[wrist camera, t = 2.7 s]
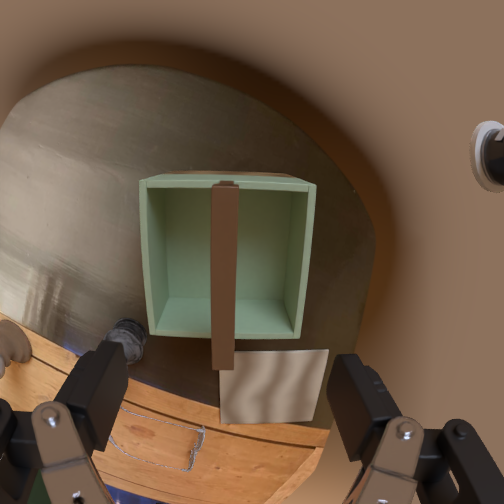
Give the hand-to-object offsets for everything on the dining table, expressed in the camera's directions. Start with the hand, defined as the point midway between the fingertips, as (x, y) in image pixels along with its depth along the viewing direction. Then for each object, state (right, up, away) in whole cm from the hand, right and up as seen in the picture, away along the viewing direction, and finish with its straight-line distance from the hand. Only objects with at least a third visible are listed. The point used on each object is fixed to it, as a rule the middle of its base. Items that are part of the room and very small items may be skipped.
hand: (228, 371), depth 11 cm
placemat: (+4, -17, +34) cm, 39 cm away
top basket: (-2, +5, +19) cm, 20 cm away
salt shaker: (-17, -7, +30) cm, 35 cm away
